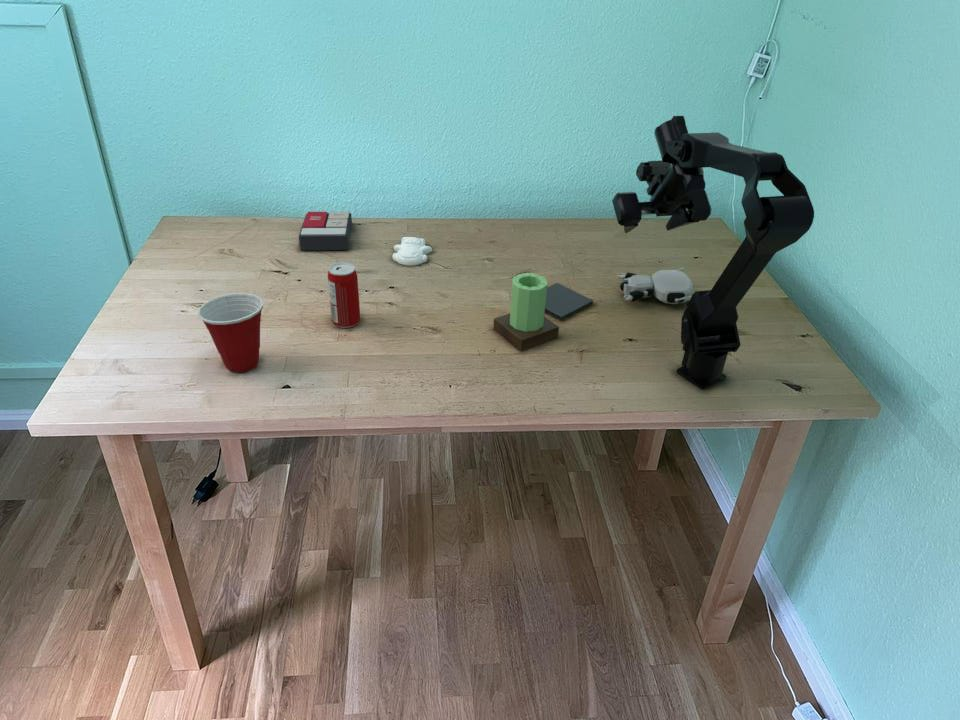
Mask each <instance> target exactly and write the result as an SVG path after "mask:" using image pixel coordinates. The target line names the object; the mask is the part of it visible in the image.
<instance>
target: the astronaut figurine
mask: <svg viewBox="0 0 960 720" xmlns="http://www.w3.org/2000/svg"><path fill="white" fill-rule="evenodd" d="M400 239H401V241H400V243H399V244H395V245H393V249H394V253H393V254H392V257H391V258H392V260H393V261H394V262H396V263H398V264H399V265H402V266H407V267H413V266H419V265H421V264H424V263H427V261H428V256H427V255H428V254H430V253H431V252H432V251H433V248H432V247H431V246H430V245H426V239H424V238H423V237H420V238H419V237H415V236H404V237H402V238H400Z"/></svg>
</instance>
